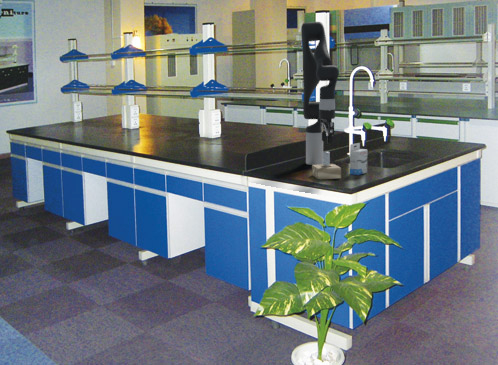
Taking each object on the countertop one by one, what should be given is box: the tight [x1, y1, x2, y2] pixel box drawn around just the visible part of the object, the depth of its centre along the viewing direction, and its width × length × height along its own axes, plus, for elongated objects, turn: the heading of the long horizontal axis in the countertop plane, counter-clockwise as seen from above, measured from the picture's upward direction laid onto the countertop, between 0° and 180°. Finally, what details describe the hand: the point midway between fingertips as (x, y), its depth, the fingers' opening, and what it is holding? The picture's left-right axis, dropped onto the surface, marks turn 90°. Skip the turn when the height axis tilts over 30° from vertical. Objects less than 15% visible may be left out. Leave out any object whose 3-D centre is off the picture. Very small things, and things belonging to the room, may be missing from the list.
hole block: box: [311, 163, 342, 180], centre depth 293 cm, size 11×11×5 cm
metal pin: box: [323, 151, 331, 167], centre depth 292 cm, size 3×3×12 cm
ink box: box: [349, 142, 369, 176], centre depth 298 cm, size 9×5×15 cm, turn 136°
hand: (326, 142), depth 290 cm, fingers open, 8 cm apart
